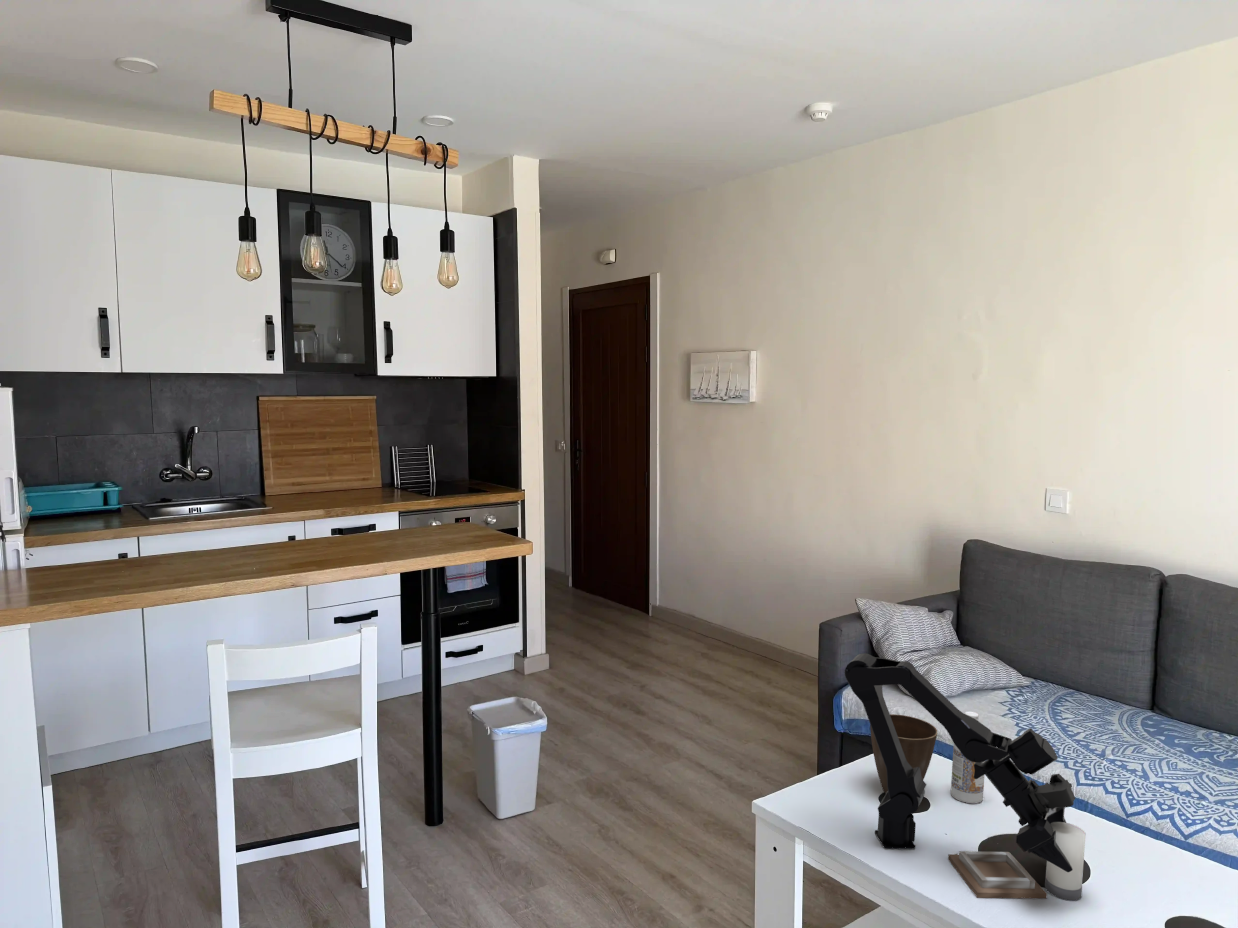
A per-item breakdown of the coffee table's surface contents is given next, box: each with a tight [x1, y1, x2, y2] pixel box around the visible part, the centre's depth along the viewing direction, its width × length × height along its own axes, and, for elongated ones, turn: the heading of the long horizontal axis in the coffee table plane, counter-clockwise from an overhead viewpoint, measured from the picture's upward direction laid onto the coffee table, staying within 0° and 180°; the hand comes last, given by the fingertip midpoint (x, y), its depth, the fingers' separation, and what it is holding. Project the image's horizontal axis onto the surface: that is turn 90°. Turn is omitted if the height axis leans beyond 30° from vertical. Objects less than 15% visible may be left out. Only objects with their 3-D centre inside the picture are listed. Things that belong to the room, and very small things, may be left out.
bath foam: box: [950, 711, 986, 804], centre depth 193 cm, size 7×7×20 cm
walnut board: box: [947, 850, 1048, 900], centre depth 161 cm, size 13×13×2 cm
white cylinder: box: [1044, 822, 1086, 902], centre depth 157 cm, size 6×6×12 cm
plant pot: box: [869, 713, 938, 794], centre depth 195 cm, size 15×15×16 cm
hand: (1073, 859), depth 156 cm, fingers open, 9 cm apart
